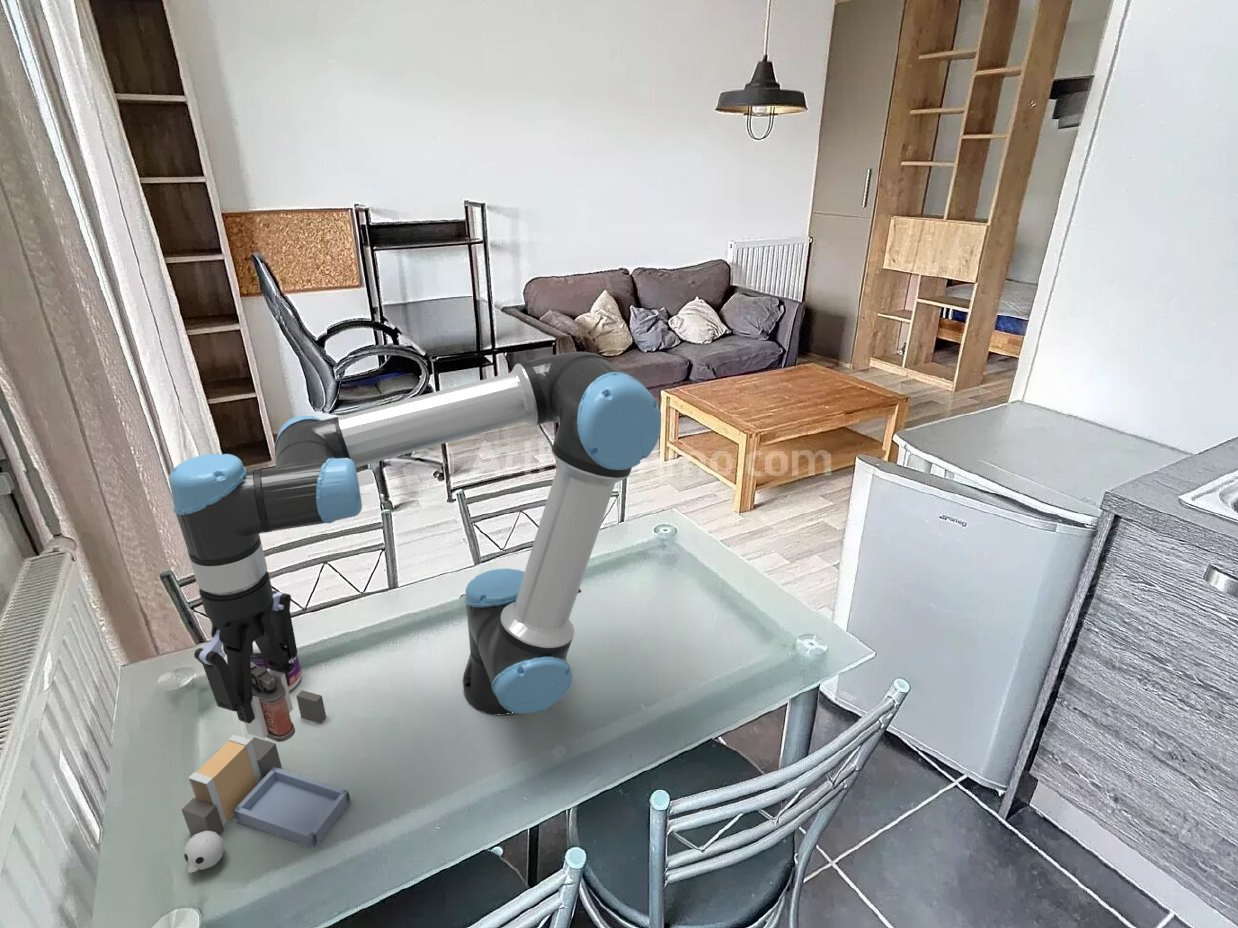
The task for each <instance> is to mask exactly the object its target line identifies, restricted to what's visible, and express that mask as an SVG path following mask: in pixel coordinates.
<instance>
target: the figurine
mask: <svg viewBox="0 0 1238 928" xmlns="http://www.w3.org/2000/svg"><path fill="white" fill-rule="evenodd" d="M224 852H225V841H224V839H223V838H222V836H221V834H220V835H219V834H218V833H216V832H212V831H203V832H200V833H198V834H195V835H193V836H192V837H191V838H189V839H188V841H187V842H186V844H185V846H184V848H183V859H184V861H185V862H186V865H188V868H187V871H188V873H191V874H192V873H195V872H197V871H199V870H200V871H201V870H202V871H204V870H206V869H209V868H212V867H214V866H215V865H216V864H217V863H218V862H219V861H220V860H221V859H222V857H223V854H224Z"/></svg>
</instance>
